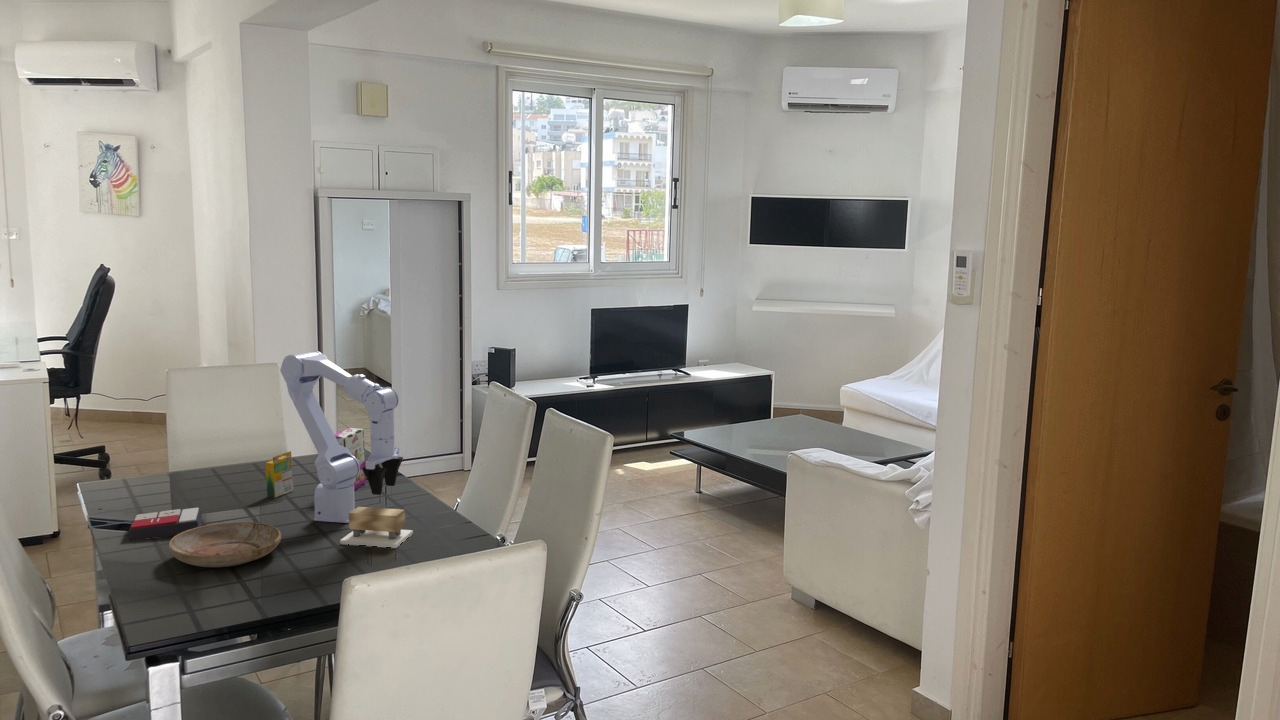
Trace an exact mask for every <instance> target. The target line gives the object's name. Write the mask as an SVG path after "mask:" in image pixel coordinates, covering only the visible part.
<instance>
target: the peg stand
mask: <svg viewBox="0 0 1280 720" xmlns="http://www.w3.org/2000/svg"><path fill="white" fill-rule="evenodd" d="M412 534H413V535H414V530H411V529H400V530H399V531H398V532H385V531H371V530H356V529H352V531H351V532H350V533H348V534H346V535H345V536H344V537H343V538H340V541H339V542H340V545H345V546H346V545H347V546H359V545H366V546H365V547H372V546H377V547H376V548H386V547H391V548H390V549H397V548H398V547H400V544H401V543H402V542H403V543H405V542H406V541H407V540H408V539H409V538H410V537H412V536H413V535H412ZM408 537H409V538H408ZM407 538H408V539H407ZM406 539H407V540H406ZM403 543H402V544H403ZM348 544H349V545H348ZM402 544H401V545H402Z"/></svg>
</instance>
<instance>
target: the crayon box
mask: <svg viewBox="0 0 1280 720" xmlns="http://www.w3.org/2000/svg"><path fill="white" fill-rule="evenodd" d="M292 466H293V465H292V450H291V451H288V452H284V453H280V454H278V455H276V456H275V455H274V456H272V460H269V461H266V462H265V480H266V481H265V482H266V496H267V497H268V498H274V499H276V498H278V497H281V496H284V495H286V494H289V493H291V492H294V481H293V467H292Z"/></svg>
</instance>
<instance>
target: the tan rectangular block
mask: <svg viewBox="0 0 1280 720" xmlns="http://www.w3.org/2000/svg"><path fill="white" fill-rule="evenodd" d="M405 526H406V509H399V508H385V507H370V506H369V507H368V506H357V507H355V509H354V510H352V511H351V512H349V523H348V529H349V530H353V529H356V530H371V531H385V532H398V531H399V530H400V529H401V530H403V528H404V527H405Z"/></svg>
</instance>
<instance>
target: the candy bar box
mask: <svg viewBox="0 0 1280 720" xmlns="http://www.w3.org/2000/svg"><path fill="white" fill-rule="evenodd" d="M364 431H365V429H364V428H358V427H348V428H346V429H344V430H342V431H340V432H338V433H334V435H335V437H336V439H337V441H338V443H339V445H341V446H343V447H345V448H347V449H349V451H350V452H351V454H352V455H353V456H354V457H355V458H356V459H357V460H358V462H359V465H360V472H359V475H358V476H357V477H356V482H354V491H355V490H357V489H358V488H360V487H362V486H363V485H365V484H366V483H367V477H366V475H365V474H364V472H363V469H362V468H363V467H364V466H366V456H365V455H366V454H365V451H366V450H365V437H364V435H365V434H364ZM332 461H333V460H332Z"/></svg>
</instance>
